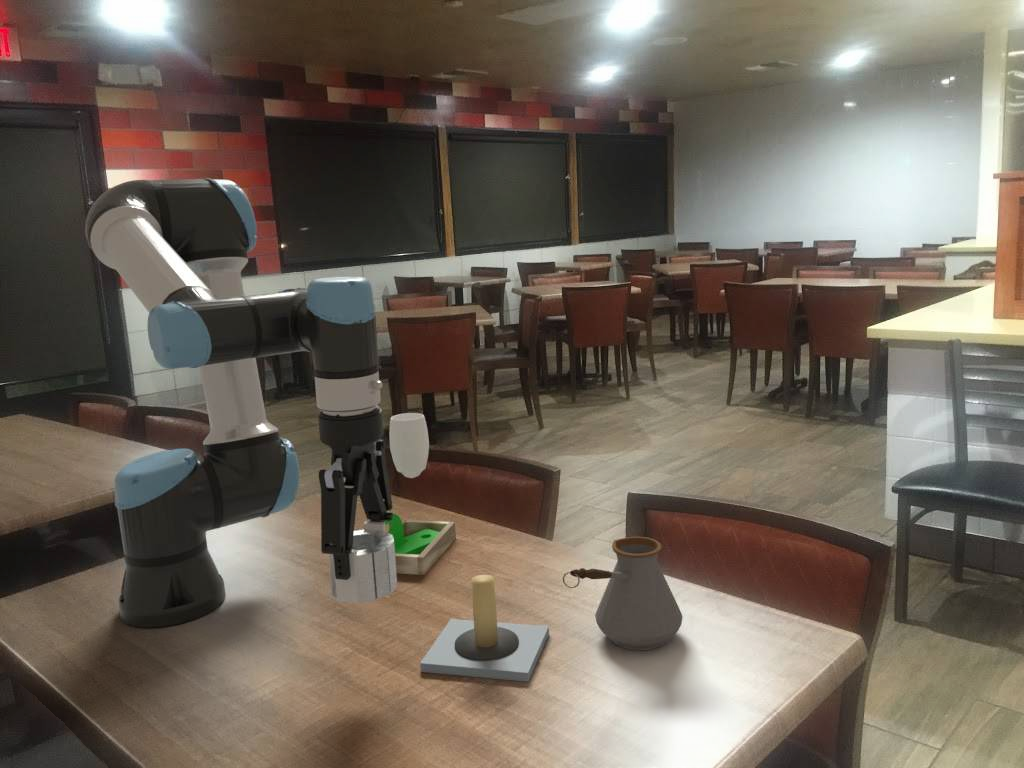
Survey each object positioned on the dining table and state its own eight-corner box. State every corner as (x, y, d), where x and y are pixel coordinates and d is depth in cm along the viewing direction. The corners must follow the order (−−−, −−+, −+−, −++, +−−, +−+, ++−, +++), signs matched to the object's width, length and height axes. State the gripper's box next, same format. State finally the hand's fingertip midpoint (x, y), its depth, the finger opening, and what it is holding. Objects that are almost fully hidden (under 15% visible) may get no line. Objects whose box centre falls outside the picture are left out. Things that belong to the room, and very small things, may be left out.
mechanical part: (394, 569, 138) (388, 523, 137) (373, 561, 142) (367, 516, 141) (449, 545, 146) (444, 501, 145) (428, 539, 150) (423, 496, 149)
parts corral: (367, 571, 138) (365, 554, 137) (403, 535, 153) (402, 519, 152) (424, 575, 135) (423, 557, 135) (455, 537, 150) (454, 521, 150)
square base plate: (420, 671, 106) (414, 596, 104) (451, 626, 118) (446, 558, 116) (528, 681, 103) (524, 604, 101) (549, 634, 114) (545, 563, 112)
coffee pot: (624, 608, 120) (621, 509, 117) (697, 629, 113) (696, 524, 110) (535, 676, 104) (529, 562, 101) (614, 705, 97) (611, 583, 94)
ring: (320, 599, 102) (316, 553, 101) (349, 571, 110) (345, 528, 109) (381, 604, 100) (377, 557, 99) (406, 575, 108) (403, 531, 107)
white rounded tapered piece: (442, 520, 160) (434, 413, 156) (418, 532, 154) (410, 422, 150) (412, 514, 164) (404, 411, 160) (388, 526, 158) (379, 419, 154)
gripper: (339, 432, 89) (355, 628, 94) (411, 389, 109) (421, 553, 114) (276, 430, 91) (295, 622, 96) (357, 388, 111) (370, 549, 116)
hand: (363, 584), depth 105 cm, fingers closed on ring, 8 cm apart
